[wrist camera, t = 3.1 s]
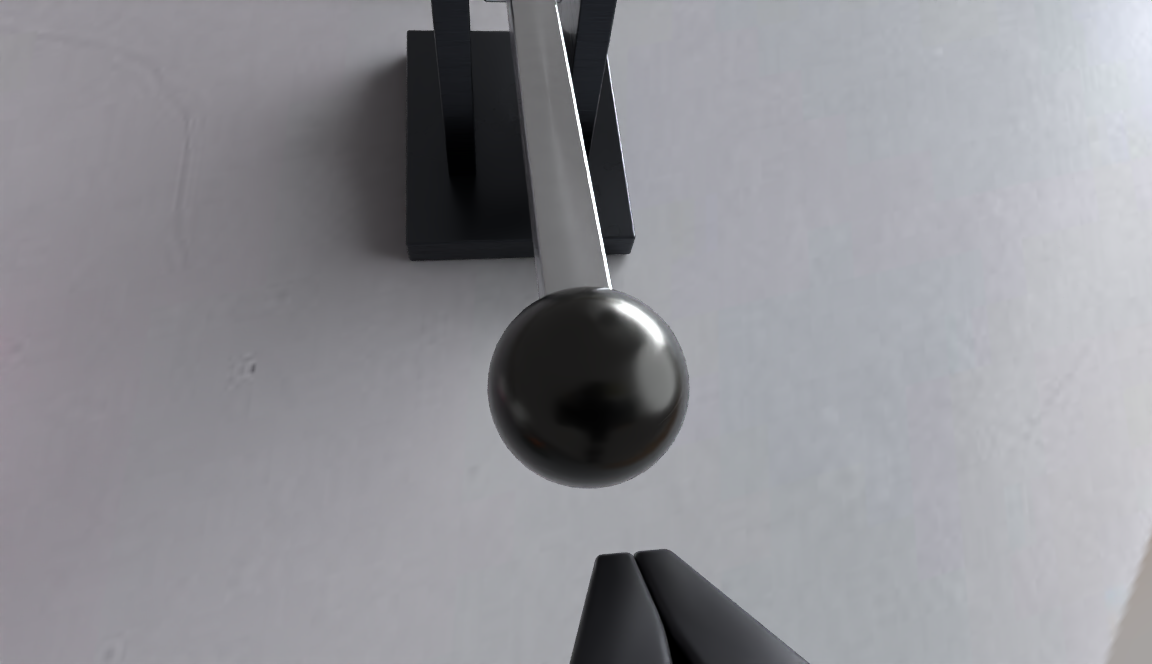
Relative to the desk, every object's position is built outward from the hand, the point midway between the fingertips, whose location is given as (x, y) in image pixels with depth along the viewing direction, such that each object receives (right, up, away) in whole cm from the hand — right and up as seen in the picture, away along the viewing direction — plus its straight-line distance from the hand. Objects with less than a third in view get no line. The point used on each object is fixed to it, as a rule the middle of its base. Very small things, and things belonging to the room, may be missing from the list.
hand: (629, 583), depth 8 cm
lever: (-1, +7, +8) cm, 11 cm away
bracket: (-3, +10, +20) cm, 22 cm away
